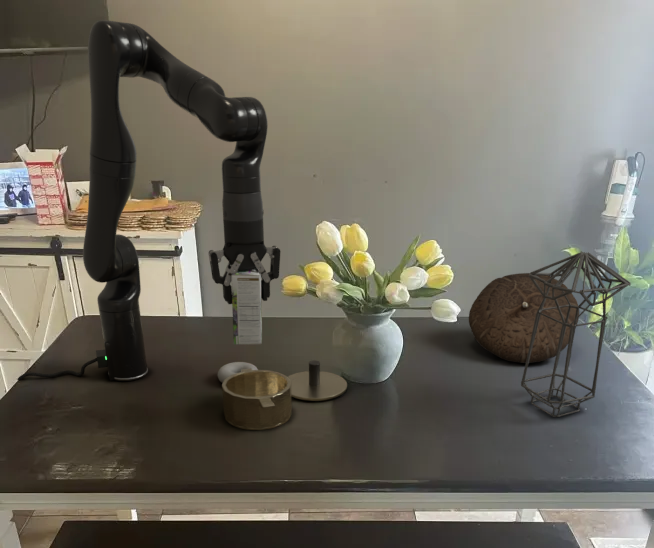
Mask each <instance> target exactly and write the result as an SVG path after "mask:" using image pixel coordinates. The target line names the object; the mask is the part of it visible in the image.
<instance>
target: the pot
mask: <svg viewBox="0 0 654 548" xmlns="http://www.w3.org/2000/svg"><path fill="white" fill-rule="evenodd" d="M221 392H222V405H223V408H222V409H223V415H224V419H225V421H226V422H227V423H228V424H229V425H231V426H233V427H235V428H238V429H242V430H247V431H264V430H272V429H274V428H278V427H281V426H283V425H284V424H286V423H287V422H288V421H289V420H290V419H291V417H292V411H293V409H292V407H293V406H292V405H293V403H292V402H293V401H292V400H293V399H292V398H293V397H292V396H291V381H290V380H289V378H288V376H287V375H285V374H283V373H281V372H278V371H273V370H269V369H258V370H252V369H251V368H250V369H242V370H241V372H239V373H236V374H233V375H231V376H229V377H228V378H226V379H225V380H224V382H223V383H222V384H221Z"/></svg>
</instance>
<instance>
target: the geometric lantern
mask: <svg viewBox="0 0 654 548" xmlns="http://www.w3.org/2000/svg"><path fill="white" fill-rule="evenodd" d="M562 263H563V264H562ZM560 264H562V265H560ZM557 265H560V266H559V267H558V268H556V269H555V270H553V271H552V272H543V271H545V270H548V269H550V268H552V267H555V266H557ZM590 269H591V270H590ZM574 270H576V271H575V275H574V278H573V282H572V287H571V289H570V288H568V287H567V288H568V289H567V288H562V287H561V285H562V284H564V283H565V281H567V279H568V278H569V277H570V275H571V274H573V272H574ZM603 270H604V271H605V272H606V273H607V274H609V275H610V276H612V277H613V278H609V276H608V275H607V274H606V273H605V272H604V271H603ZM581 271H582V272H583V280H582V281H583V282H582V289H580V290H579V291H578V290H577V286H578V281H579V278H580V274H581ZM529 273H530V274H529V277H530V279H531V280H532V282H533V283H534V285H535V286H536V287H537V289H538V290H539V292H540V293H541V294H542V296H543V297H544V298H543V300H542V303H541V305H540V307H539V309H538V311H537V313H536V317H535V322H534V327H533V331H532V336H531V341H530V346H529V351H528V355H527V360H526V363H525V364H524V365H525V366H524V370H523V373H522V378H521V381H520V386H521V387H522V388H524V390H525V391H526V392H527V393H528V394H529V395H530V396H531V398H530V404H531V405H532V406H534V407H536V408H538V409H539V410H540V411H542V412H544V413H546V414H547V415H549V416H551V417H552V418H560V417H563V416H568V415H571V414H574V413H578V412H581V409H580V408H581V404H582V403H584V402H587V401H590V400H591V399H594V398H596V388H597V383H598V382H597V381H598V375H599V374H598V372H599V365H600V359H601V354H602V348H603V347H602V346H603V341H604V335H605V329H606V324H607V319H608V317H607V316H606V315H607V301H608V300H610V299H611V298H612V297H614V296H615V295H617V294H619V292H621V291H623V290H624V289H625V288H627V287H628V286H629V287H630V286H632V285H631V283H632V282H630V280H628V279H626V278H625V277H623V276H622V275H621V274H619V273H618V272H616V271H615V270H614V269H613V268H611V267H610V266H608V265H606V264H605V263H604V262H603V261H601V260H600V259H599V258H597V257H596V256H594V255H593V254H592V253H590V252H586V251H582V250H581V251H580V252H577V253H575V254H572V255H570V256H567V257H565V258H563V259H561V260H558V261H555V262H553V263H550V264H548V265H545V266H543V267H540V268H538V269H535V270H533V271H531V272H529ZM536 275H545V276H550V279H549V280H547V281H545V280H543V279H541V278H539V277H538V276H536ZM592 276H593V277H595V278H596V280H597V282H598V285H597V286H596V284H595V283H594V281H593V279H592ZM556 277H559V279H557V280H558V282H557V283H556V284H555V285H552V284H551V280H553V279H556ZM586 278H587V280H588V282H589V283H588V284H589V286H590V288H589V289H586V288H585V285H586ZM534 279H536V280H539V281H541V282H542V283H544V293H543V291H542V290H541V288H540V287H539V285H538V284H537V283H536V281H535V280H534ZM603 282H606V283H609V284H608V287H607V288H606V286H605V284H604V283H603ZM612 283H618V284H616V285H614V286H613V287H612ZM558 284H559V285H558ZM546 285H547V286H548V289H547V291H546ZM550 287H552V297H550V296H547V295H548V292H549V290H550ZM554 289H558V290H562V292H563V294H560V295H558V296H555V297H554ZM545 291H546V294H545ZM564 291H567V292H565V293H564ZM612 291H613V292H612ZM597 292H598V293H600V294H602V299H601V300H599V301H596V299H597ZM609 292H612V293H611V294H609ZM570 293H572V294H573V293H576V294H580V295H581V297H582V298H583V300H582V301H581V302H580V303H579V304H578V306H574V305H571V304H570V302H569V301H568V299H567V297H566V295H568V294H570ZM585 293H589V294H588V295H586V294H585ZM608 294H609V295H608ZM592 295H593V301H591V300H590V298H591V296H592ZM563 296H565V298H566V300H567V302H568V304H569V305H564V306H559V304H558V302H557V298H560V297H563ZM546 298H547V299H552V300H554V301H555V303H556V306H557V307H551V308H545V309H543V306H544V303H545V301H546ZM586 302H587V304H588V305H587V306H586V307H582V306H583V305H584V304H585V303H586ZM600 304H602V314H601V313H598V312H596V311H594V310H590V309H589V308H590V307H595V306H597V305H600ZM568 306H569V307H568ZM562 307H568V311H567V316H566V320H564V317H563V315H562V312H561V310H560V308H562ZM555 308H557V309H558V311H559V314H560V316H561V319H562V321H563V322H561V321H558V320H556V319H554V318H552V317H549V316H547V315H545V314H543V313H541V311H543V310H549V309H555ZM571 308H576V309H577V310H576V315H575V320H574V321H573V322H572V323H571V324H567V322H568V318H569V314H570V309H571ZM580 310H582V311H581V312H580ZM578 311H579V312H580V313H579V316H578ZM584 312H587V313H591V314H593V315H595V316H598V317H601V318H602V319H601V320H597V321H591V322H590V321H589V322H584V323H577V319H578V318H579V319H580V317H581V316H582V315H583V314H584ZM541 315H543V316H545V317H547V318H549V319H552V320H554V321H556V322H558V323H560V324H562V328H561V333H560V338H559V343H558V348H557V353H556V356H555V359H554V362H553V363H554V364H553V368H552V373H550V374H545V375H540V376H535V377H531V378H526V377H527V371H528V368H529V364H530V363H529V359H530V355H531V351H532V348H533V344H534V340H535V336H536V332H537V328H538V324H539V320H540V316H541ZM579 319H578V320H579ZM573 323H574V325H572V324H573ZM576 323H577V325H576ZM593 324H600V329H599V337H598V344H597V353H596V361H595V367H594V375H593V379H592V387H589V386H587V385H586V384H583V383H581V382H579V381H578V380H575V379H573V378H572V377H570V376H568V372H569V368H570V362H571V357H572V350H573V344H574V339H575V334H576V329H577V327H583V326H588V325H593ZM567 326H568V327H570V334H569V341H568V344H567V349H566V357H565V362H564V363H565V364H564V371H563V374H560V373H556V372H557V368H558V364H559V359H560V355H561V352H562V351H561V348H562V343H563V339H564V335H565V331H566V327H567ZM555 377H558V378H562V380H561V381H560V384H559V385H558V386H557V388H556V378H555ZM546 378H551V379H550V384H549V389H545V390H542V391H539V392H536V391H535V390H533V389H532V388H529V386H528V385H527V382H531V381H536V380H541V379H546ZM567 380H569V381H571V382H572V383H574V384H576V385H578V386H580V387H581V388H584V389H587V390H588V391H590V392H588V393H586V394H585V395H583V396H582V397H576V396H575V395H572V394H570V393H568V392H566V391H565V389H566V381H567ZM554 391H555V392H556V393H555V395H554ZM547 392H548V395H546V396H543V395H541V394H543V393H547ZM559 392H560V393H561V394H560V396H559ZM565 395H566V396H568V397H570V398H571V399H567V400H566V399H564V397H565ZM551 398H557V399H559V400H551ZM537 401H539V402H541V403H542V404H545V405H547V406H548V407H550V408H552V413H550V411H548V410H545V409H544V408H542V407H541V406H539V405H538V404H535V403H534V402H537ZM554 404H556V405H557V404H558V406H555V405H554ZM563 404H565V405H563ZM571 406H572V407H574V408H575V409H576V410H573V411H569V412H565V413H562V414H560V412H561V409H563V408H566V407H571ZM555 410H557V414H555Z"/></svg>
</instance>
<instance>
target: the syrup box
mask: <svg viewBox="0 0 654 548" xmlns="http://www.w3.org/2000/svg"><path fill="white" fill-rule="evenodd" d="M261 280H262V278H261V274H260V273H259V271H258V270H257V269H256V268H255V269H254V270H248V269H246V270H243V271H239V270H237V272H236V274H233V275H232V276H231V287H232V304H231V308H232V330H233V331H232V334H233V345H235V346H242V345H247V346H248V345H249V346H250V345H262V342H263V317H262V316H263V312H262V308H263V307H262V298H261Z"/></svg>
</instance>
